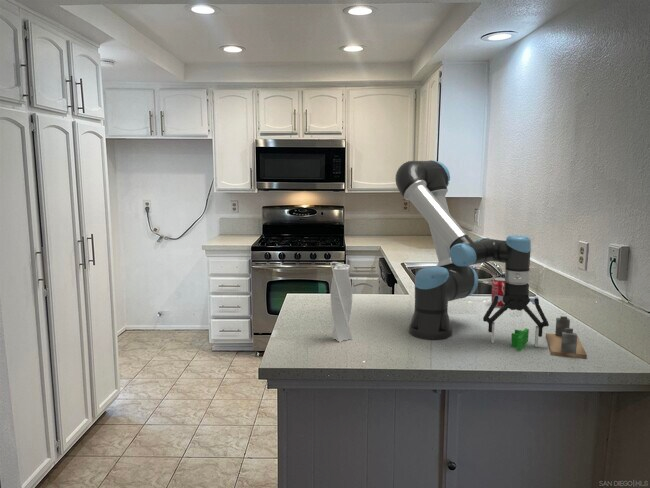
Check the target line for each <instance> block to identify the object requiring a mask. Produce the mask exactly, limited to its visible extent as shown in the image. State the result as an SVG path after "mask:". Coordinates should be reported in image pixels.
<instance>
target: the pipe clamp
mask: <svg viewBox="0 0 650 488" xmlns="http://www.w3.org/2000/svg"><path fill="white" fill-rule="evenodd" d="M529 331H530V329H529V328H524V329H522V330H521V329H514V332H513V333H511V338H510V346H511V347H514V348H516V351H518V352H522V350H523V348H524V347H525V346H526V345H527V344H528V342H529Z"/></svg>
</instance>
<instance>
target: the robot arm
mask: <svg viewBox="0 0 650 488" xmlns="http://www.w3.org/2000/svg"><path fill="white" fill-rule="evenodd" d="M450 180H451V174H450V171H449V169H448V166H446V165H445V164H444V163H443V162H440V161H436V160H431V159H430V160H408V161H406V162H403V163H402V164H401V165H400V166H399V167H398V169H397V170H396V173H395V184H396V185H395V186H396V188H397V190H398V192H399V193H400V194H401V196H402V197H403V199H404V200H406V201H408V202H409V201H410V203H411V204H412V205H413V206H414V207H415V208H416V210H417V211H418V213H420V215H421V216H422V217H423V218H424V220H425V221H426V223H428V226H429V230H430V234H431V238H432V241H433V246H434V249H435V252H436V257H437V260H438V262H437V264H436V266H428V267H423V268H421V269H418V270H417V271H416V272H415V275H414V276H415V277H414V279H415V280H414V313H413V315H412V318H411V321H410V323H409V326H408V327H409V329H408V331H409V333H410V334H411V335H412V336H414V337H416V338H420V339H424V340H443V339H447V338H450V337H452V335H453V327H452V323H451V319H450V317H449V314H448V313H449V312H448V311H449V310H448V306H449V304H448V303H449V302H451V301H454V300H459V299H465V298H467V297H469V296H471V295H473V294H474V293H475V292H476V290H477V288H478V286H479V277H478V274H477V271H476V269H474V268H473V267H472V266H473V265H478V264H482V263H484V264H485V263H489V262H496V263H497V262H498V263H501V264H504V263H505V269H504V278H505V281H507V282H505V289H504V296H498V295H497V294H495V296H494V301H493V302H492V301H491V304H490V306H489V308H488V309H487V311H485V312H486V313H485V314H484V316H483V322H485V323H487V324H488V333H491V343H493V344H494V343H495V327H496V326H495V321H496V320H497V319H498V318H499V317H500V316H502V315H503V314H504V313H505V312H506V311H507V310H511V311H515V310H517V311H522V310H524V312H525V313H526V314H527V315H528V316H529V317H530V319H531V320H533V322H534V324H536V325H535V335H534V347H535V348H539V337H540V338H542V337H543V328H545V327H549V322H548V319H547V318H546V315H545V313H544V311H543V310H542V307H541V306H540V300H539V297H538V296H535V297H530V296H529V291H530V283H529V282H530V272H531V271H530V264H531V252H532V248H531V238H530V237H529V236H527V235H522V234H521V235H518V234H517V235H515V234H513V235H508V236H507V237H506V239H505V240H500V239H494V238H489V237H485V238H483V237H479V238H477V239H476V240H475V241H473V239H471V237H470V236H469V235H468V233H466V231H465V230H463V228H462V226H461V225H459V224H458V222H457V221H456V220H455V219H454V217H453V216H452V215H451V214H450V210H449V206H448V202H447V199H446V195H447V193H448V186H449V184H450ZM500 300H503V301H504V303H505V304H504V305H503V306H502V307H501V308H499V309H498V310H497V311H496V312H495V313H494V314H493V315H492V316H491V314H492V313H493V311H494V310H495V308H496V307H495V306H496V305H497V302H500ZM529 303H532V305H535V308H536V311H537V312H538V315H539V316H540V318H541V320H542V321H540V319H539V318H538V317H537V315H535V313H534V312H533V311H532V310H531V308H530V307H529V306H528V305H529Z"/></svg>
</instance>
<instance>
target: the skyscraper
mask: <svg viewBox="0 0 650 488" xmlns="http://www.w3.org/2000/svg"><path fill="white" fill-rule="evenodd" d="M329 264H330V267H331V270H332V271H331V272H332V274H333V275H332V280H331V285H330V309H331V316H332V321H333V328H332V329H333V330H332V333H331V337H333V338H335V339H336V340H338V341H343V340H347V341H349V340H348V339H352V340H353V337H352V334H351V329H350V326H349V321H350V317H351V314H352V305H353V289H352V282H351V278H350V274H349V272H350V269H351V265H349V264H346V263H342V262H338V261H332V262H330V263H329ZM333 264H335V265H334V267H333ZM336 340H335V341H336ZM338 341H337V342H338ZM343 342H344V341H343Z"/></svg>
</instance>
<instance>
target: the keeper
mask: <svg viewBox="0 0 650 488" xmlns="http://www.w3.org/2000/svg"><path fill="white" fill-rule="evenodd" d="M555 318H556V319H555V333H545V338H546V342H547V346H548V348H549V349H548V350H549V352H550V355H551V356H558V357H567V358H575V359H576V358H577V359H578V358H579V359H587V356H588V355H587V353H586V351H585V348H584V346H583V344H582V341H581V340H580V338H579V336H578V334H577V332H576V333H575V332H574V328H572V327H571V325H570V324H571V320H570V318H568V316H564V315H560V316H559V317H555Z"/></svg>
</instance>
